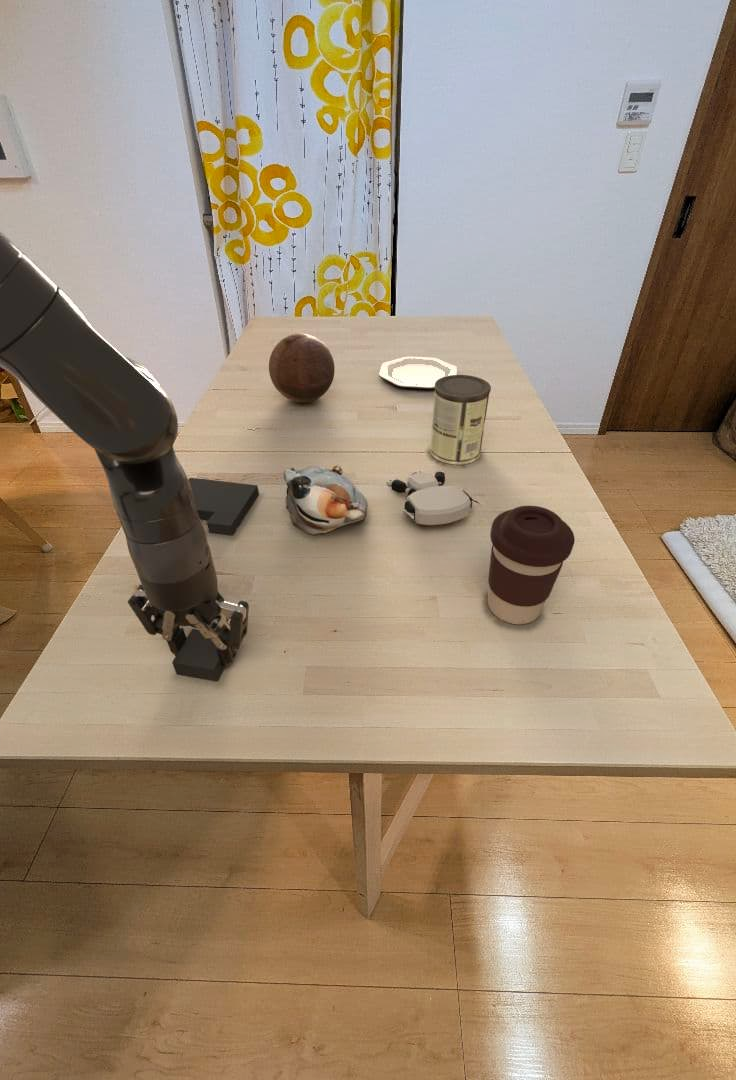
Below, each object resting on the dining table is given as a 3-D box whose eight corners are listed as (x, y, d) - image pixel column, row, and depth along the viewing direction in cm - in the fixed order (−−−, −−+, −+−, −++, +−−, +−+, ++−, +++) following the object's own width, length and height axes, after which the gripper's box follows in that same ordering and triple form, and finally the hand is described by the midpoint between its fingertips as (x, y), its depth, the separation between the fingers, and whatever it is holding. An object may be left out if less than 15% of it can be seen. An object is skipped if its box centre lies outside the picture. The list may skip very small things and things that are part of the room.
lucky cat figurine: (381, 505, 90) (388, 466, 77) (345, 561, 86) (347, 529, 73) (308, 465, 92) (304, 420, 79) (270, 518, 88) (258, 479, 75)
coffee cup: (539, 644, 67) (567, 557, 57) (467, 616, 71) (482, 530, 61) (557, 596, 74) (586, 511, 64) (490, 573, 77) (508, 489, 68)
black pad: (176, 674, 63) (171, 662, 62) (206, 623, 70) (202, 611, 68) (217, 681, 63) (213, 669, 61) (243, 629, 69) (241, 617, 67)
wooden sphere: (348, 398, 124) (347, 334, 114) (301, 419, 116) (295, 352, 106) (307, 381, 132) (302, 320, 122) (260, 399, 124) (250, 335, 114)
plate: (456, 364, 141) (457, 358, 140) (455, 394, 126) (456, 388, 125) (385, 360, 143) (385, 355, 142) (375, 389, 128) (375, 384, 127)
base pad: (159, 526, 86) (156, 516, 85) (192, 486, 95) (189, 477, 94) (232, 535, 84) (230, 526, 83) (259, 494, 93) (257, 485, 92)
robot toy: (382, 494, 94) (413, 539, 83) (381, 472, 92) (414, 516, 80) (443, 483, 97) (481, 524, 86) (444, 461, 95) (484, 501, 83)
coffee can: (443, 434, 110) (450, 370, 101) (488, 448, 106) (499, 382, 97) (419, 455, 104) (424, 388, 95) (466, 470, 99) (476, 401, 90)
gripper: (89, 571, 52) (137, 672, 63) (222, 591, 50) (248, 692, 61) (129, 525, 58) (167, 626, 69) (251, 542, 56) (270, 643, 66)
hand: (205, 657), depth 65 cm, fingers closed on black pad, 5 cm apart
